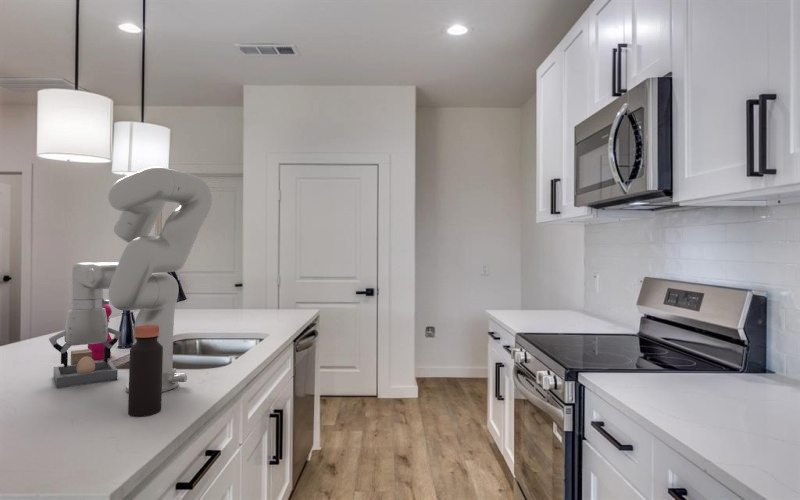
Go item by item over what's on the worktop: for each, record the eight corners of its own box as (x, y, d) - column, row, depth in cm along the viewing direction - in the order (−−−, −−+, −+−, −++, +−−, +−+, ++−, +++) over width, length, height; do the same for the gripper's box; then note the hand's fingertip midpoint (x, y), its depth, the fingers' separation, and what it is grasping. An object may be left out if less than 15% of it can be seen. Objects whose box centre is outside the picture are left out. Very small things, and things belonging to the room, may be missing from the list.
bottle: (139, 406, 109) (141, 323, 109) (167, 407, 109) (169, 324, 109) (121, 416, 102) (123, 328, 102) (150, 418, 102) (153, 329, 102)
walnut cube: (91, 367, 143) (92, 351, 143) (72, 369, 140) (72, 353, 140) (89, 364, 147) (89, 349, 147) (70, 366, 144) (71, 350, 144)
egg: (82, 379, 128) (83, 359, 128) (72, 377, 130) (73, 357, 130) (98, 375, 132) (98, 355, 132) (88, 373, 134) (89, 354, 134)
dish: (117, 379, 130) (117, 370, 130) (56, 388, 121) (56, 377, 121) (109, 369, 141) (110, 360, 141) (53, 376, 132) (53, 367, 132)
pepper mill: (116, 357, 156) (118, 299, 156) (93, 361, 150) (95, 301, 150) (106, 354, 160) (107, 298, 160) (83, 358, 154) (84, 299, 154)
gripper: (119, 302, 140) (118, 357, 139) (49, 305, 128) (47, 365, 128) (124, 304, 134) (122, 362, 134) (50, 308, 123) (48, 371, 123)
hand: (86, 363), depth 131 cm, fingers open, 9 cm apart
